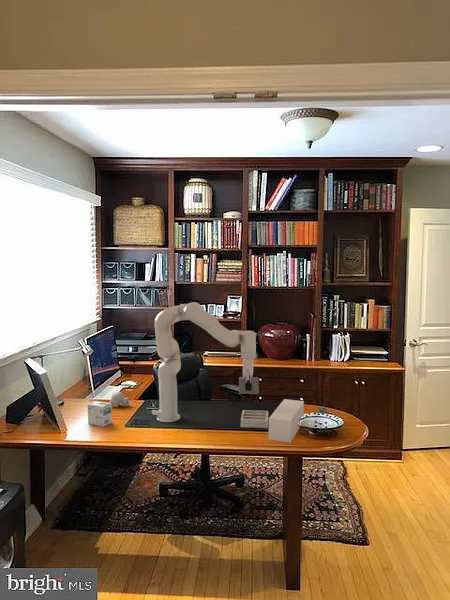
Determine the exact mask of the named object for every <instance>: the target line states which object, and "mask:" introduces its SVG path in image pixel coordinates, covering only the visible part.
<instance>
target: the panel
mask: <svg viewBox="0 0 450 600" xmlns="http://www.w3.org/2000/svg"><path fill="white" fill-rule="evenodd" d="M245 383H246V376H245V377H244V378H243V376H242V377H241V376H239V377H238V394H239V395H241V394H242V395H243V394H244V395H245V394H249V395H259V394H260V393H259V391H260V389H259V377H254V376H252V378H251V383H252V390H251V391H246V390H245Z"/></svg>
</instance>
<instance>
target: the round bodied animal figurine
mask: <svg viewBox="0 0 450 600" xmlns="http://www.w3.org/2000/svg"><path fill="white" fill-rule="evenodd" d="M108 403H111V406H113V407H114V408H119V406H120V405H121V404H122V405H124V406H125V407H126V408H127V407H128V408H129V406H130V405H132V401H129V396H127V397H125V396H124V394H123V392H121V391H115V392H112V394H111V398H110V400H109V402H108Z"/></svg>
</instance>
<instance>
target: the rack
mask: <svg viewBox="0 0 450 600" xmlns="http://www.w3.org/2000/svg"><path fill="white" fill-rule="evenodd" d="M240 428H252V429H253V428H255V429H269V411H268V410H250V409H249V410H246V409H243V410H242V412H241V417H240Z"/></svg>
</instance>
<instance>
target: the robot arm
mask: <svg viewBox="0 0 450 600" xmlns="http://www.w3.org/2000/svg"><path fill="white" fill-rule="evenodd" d="M185 320H189V321H190V322H192V323H194V324H196V325H197V326H199V327H200V328H202V329H203V330H205V331H206V332H207V333H208V334H209V335H211V336H212V337H213V338H214V339H215V340H217V341H219V342H220V343H222V344H224V345H225V346H227V347H229V348H234V347H236V346H237V347H238V345H239V344H240V358H241V359H242V377H243V378H244V377H246V383H245V390H246V391H251V390H252V383H251V378H252V377H253V375H254V359H256V351H257V349H256V347H257V346H256V332H255V331H253V330H238V329H231V330H230V329H227V328H226V327H224V325H222V324H221V322H219V320H218V318H217V317H216V316H214V315H213V314H211V313H210V312H208V311H206V310H205V309H204V308H203V307H202V305H201V304H200V303H198V302H196V301H195V302H194V301H193V302H189V303H186V304H180V305H179V304H178V305H173V306H171V307H167V308H165V309H163V310H162V311H160V312H159V313H158V314H157V315H156V317H155V319H154V331H155V343H156V351H157V354H158V356H159V357H160V358H161V359H163V361H162V362H161V363H160V364H159V366H158V368H157V378H158V394H159V395H158V396H159V397H158V399H159V402H158V403H159V404H158V405H159V407H158V408H159V409H158V410H155V409H152V410H151V414H152V415H153V416H156V420H157V421H158V422H162V423H173V422H177V421H179V420H180V419H181V415H180V414H179V413H178V382H177V374H178V373H179V372H180V371H181V369H182V368H181V367H182V361H181V354H180V346H179V343H178V341H177V340H176V339H174V338H173V334H172V329H171V325H173V324H175V323H177V322H180V321H185Z"/></svg>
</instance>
